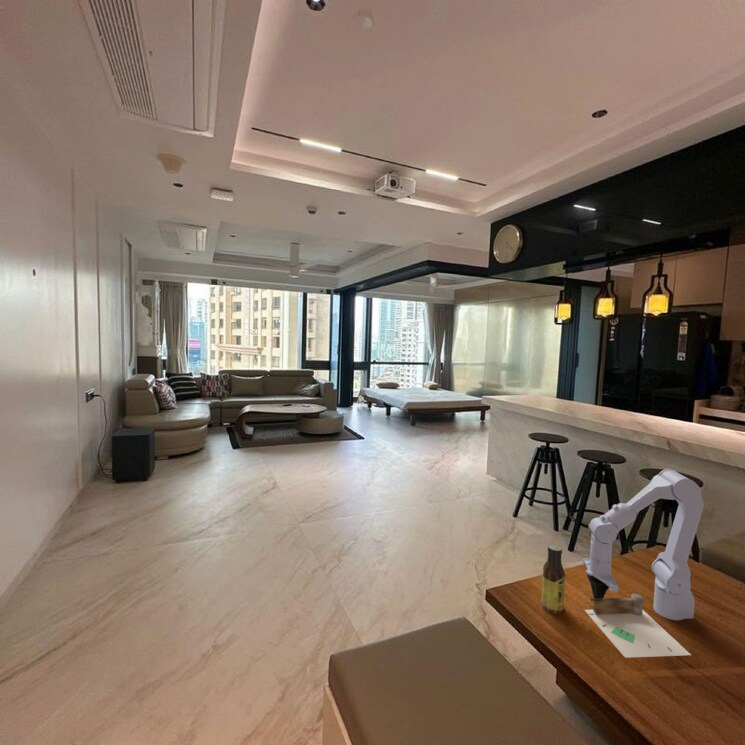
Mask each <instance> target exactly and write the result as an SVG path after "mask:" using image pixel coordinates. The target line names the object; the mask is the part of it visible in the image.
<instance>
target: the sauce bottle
mask: <svg viewBox="0 0 745 745" xmlns="http://www.w3.org/2000/svg"><path fill="white" fill-rule="evenodd" d="M562 554H563V547H561V546H559V545H557V544H548V545H547V560H546V562H545V563H544V564H543V568H542V570H543V571H542V572H543V573H542V579H541V584H542V585H541V606H542V608H543V609H544V611H547V612H549V613H551V614H561V613H562V612H563V611H564V605H565V583H566V581H565V580H566V573H565V571H564V567H563V564H562Z"/></svg>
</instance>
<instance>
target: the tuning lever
mask: <svg viewBox="0 0 745 745" xmlns="http://www.w3.org/2000/svg"><path fill="white" fill-rule="evenodd" d="M630 596H631V597H612V598H611V597H610V598H609V597H607V598H605V597H604V598H594V597H593V598H589V600H590V601H591V602H593V610H594V612H595V613H596V614H612V613H635V614H638V615H641V614H642V611H643V610H644V609H643V607H644V598H643V596H642V595H640V594H638V593H631V594H630Z"/></svg>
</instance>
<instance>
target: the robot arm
mask: <svg viewBox="0 0 745 745" xmlns="http://www.w3.org/2000/svg"><path fill="white" fill-rule="evenodd" d="M702 490H703V489H702V488H701V487H700V486H699V485H698V484H697V482H695V481H694V480H693V479H690V478H688V477H686V476H685V475H682V474H681V473H679V472H678V471H676V470H675V469H672V468H665V469H663V470H661V471H660V472H659V473H658V474H656V475H655V476H653V477H652V478H651V480H650V482H649V483H648V484H647V485H646V486H645V487H644V488H642V489H641V490H640V491H639V492H637V494H636V495H634V496H633V497H632V498H631V499H630V500H628V501H627V502H626V503H624V502H623V503H622V502H619V503H617V504H615V503H614V504H613V505H612V506H611V509H609V510H608V511H607V512H605V513H604V514H601V515H600V516H598V517H594V518H592V519H591V520H590V523H588V524H587V525H588V529H589V530H590V532H591V533H590V534H591V535H590V549H589V557H586V558H584V557H583V558H582V564H583V565H584V566H585V567H586V570H585V573H586V577H587V578H588V581H589V583H590V584H589V585H590V587H591V591H592V596H593V598H605V595H606V594H607V591H608V590H609V591H610V592H611V593H618V592H619V584H617V583H616V581H615V578H614V577H613V574H612V572H611V570H612V553H613V542H615V541H616V540H617V537H618V534H619V533H620V531H622V530H623V529H624V528H625V527H627V526H628V525H630V524H631V523H633V522H634V521H636V518H637V517H636V515H637V514H638V513H639V512H640V511H642V510H644V509H645V508H646V507H648V506H650V505H652V504H654V502H656V501H658V500H660V499H663V500H670V501H671V500H672V501H676V502H677V504H678V506H677V509H676V513H675V517H674V520H673V523H672V526H671V530H670V533H669V537H668V539H667V542H666V547H665V550H664V551H662V552H659V553H658V555H657V557H656V559H655V560H654V561H653V562H652V564H651V570H652V573H653V574H654V575H655V579H654V594H653V605H652V606H653V610H654V612H655V613H656V614H658V615H659V616H661V617H663V618H665V619H668V620H671V621H682V620H687V619H691V620H692V619H694V616H695V615H694V614H695V605H696V604H695V602H696V601H695V596H694V594H693V592H692V591H691V588H692V584H691V576H692V573H691V572H692V571H691V570H690V567H689V565H688V560H689V557H690V553H691V550H692V547H693V545H694V544H693V543H694V540H695V537H696V533H697V530H698V527H699V524H700V520H701V516H702V514H703V511H704V507H705V505H704V501H703V499H702V498H703V497H702Z"/></svg>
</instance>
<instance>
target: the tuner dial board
mask: <svg viewBox="0 0 745 745" xmlns="http://www.w3.org/2000/svg"><path fill="white" fill-rule="evenodd" d="M584 612H585V613H586V614H587V615H588V616H589V617H590V619H592V621H593V623H594V624H595V625H597V627H598V628H599V629H600V630H601V632H603V633H604V635H605V636H606V637H607V639H609V641H610V642H611V643H612V644H613V645H614V646H615V648H616V649H617V650H618V651H619V652H620V654H621V655H622V656H623V657H624V658H625V659H626V658H628V659H629V658H630V659H631V658H653V657H654V658H655V657H657V658H658V657H679V656H680V657H681V656H692V654H691V653H689V651H687V649H686V648H685V647H684V646H683V645H681V643H679V641H677V640H676V639H675V638H674V637H673V636H671V634H669V632H667V631H666V630H665V629H664V628H663V627H662V626H661V625H659V623H658V622H656V621H655V619H654V618H652V617H651V616H650V615H649V614H648V613H647V612H646V611H645V610H644V609H643V611H642V614H641V615H638V614H635V613H612V614H596V613H595V612H594V609H584Z"/></svg>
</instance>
